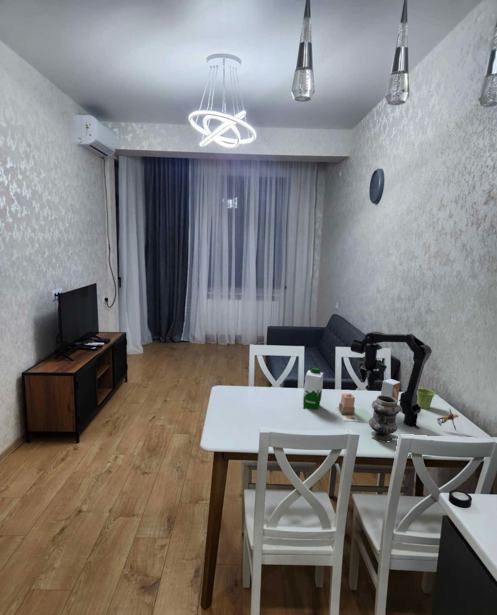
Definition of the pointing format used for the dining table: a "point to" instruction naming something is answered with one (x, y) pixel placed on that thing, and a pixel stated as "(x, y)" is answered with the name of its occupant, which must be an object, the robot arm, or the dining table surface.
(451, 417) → the action figure
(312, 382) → the milk carton
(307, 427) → the dining table surface
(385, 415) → the ornate grey vase
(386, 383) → the small box
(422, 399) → the plant pot
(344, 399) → the pink knobbed block
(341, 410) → the walnut brick
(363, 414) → the board
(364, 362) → the robot arm
